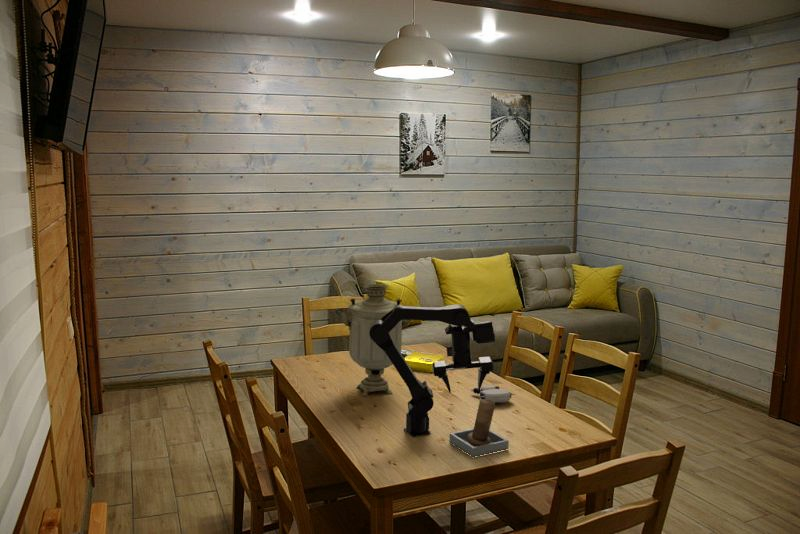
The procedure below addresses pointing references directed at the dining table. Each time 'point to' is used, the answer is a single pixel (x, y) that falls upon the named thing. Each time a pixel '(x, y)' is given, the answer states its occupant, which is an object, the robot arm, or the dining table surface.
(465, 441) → the box
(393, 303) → the samovar
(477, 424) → the handle
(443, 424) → the dining table surface
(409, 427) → the robot arm
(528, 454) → the dining table surface
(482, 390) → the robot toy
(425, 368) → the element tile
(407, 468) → the dining table surface
